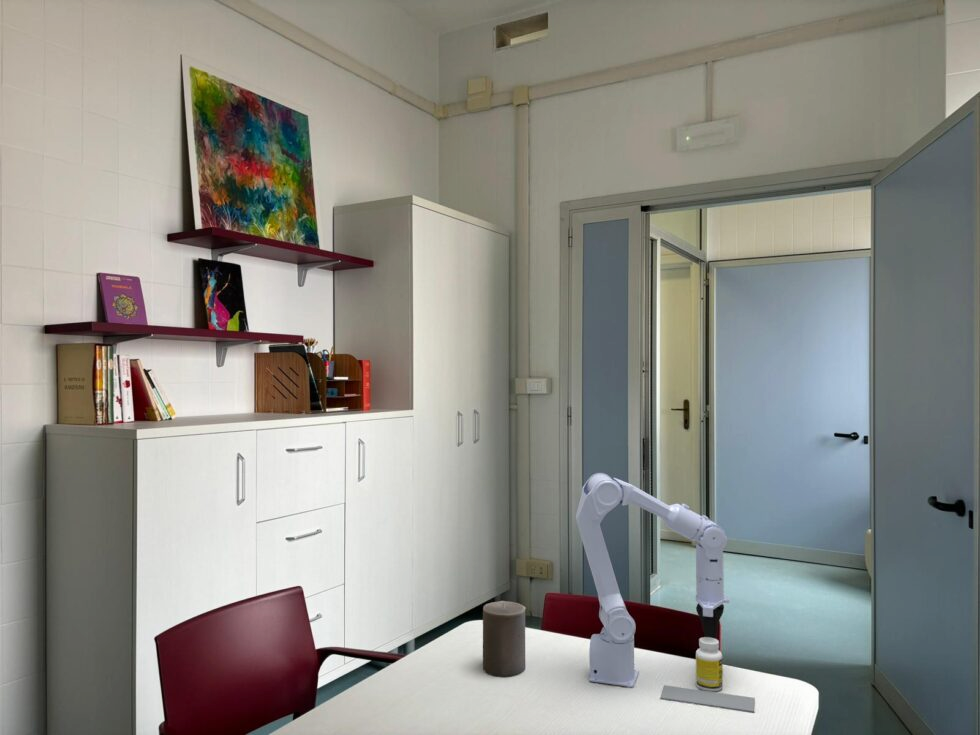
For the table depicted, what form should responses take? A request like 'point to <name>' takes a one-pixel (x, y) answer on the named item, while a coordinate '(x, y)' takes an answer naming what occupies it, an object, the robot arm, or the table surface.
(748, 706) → the mat
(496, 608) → the pillar candle
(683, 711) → the table surface
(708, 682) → the supplement bottle
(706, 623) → the robot arm
